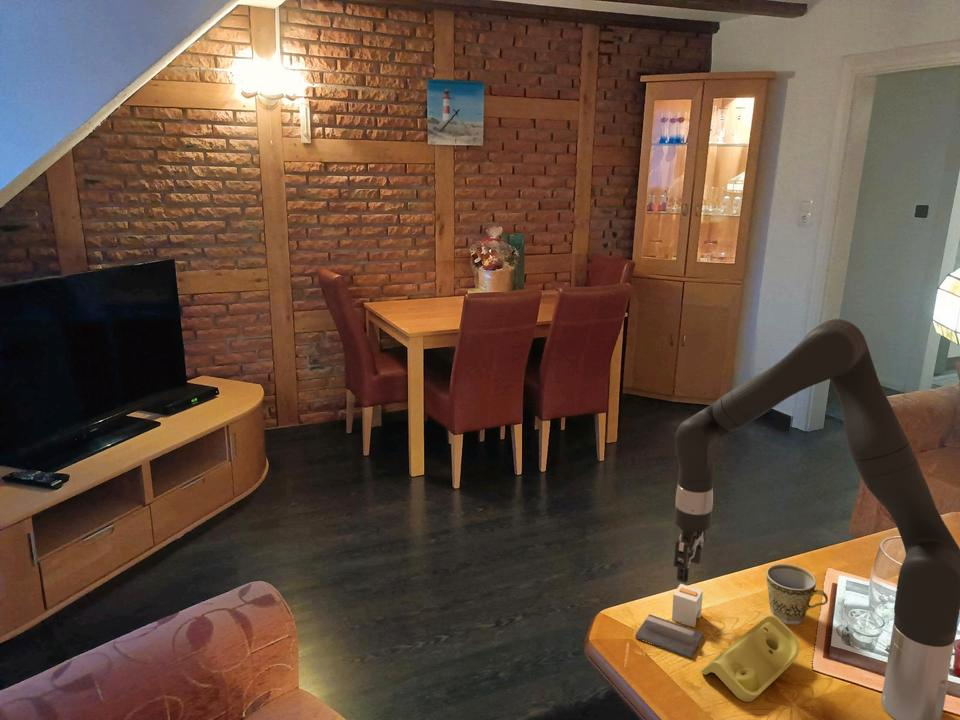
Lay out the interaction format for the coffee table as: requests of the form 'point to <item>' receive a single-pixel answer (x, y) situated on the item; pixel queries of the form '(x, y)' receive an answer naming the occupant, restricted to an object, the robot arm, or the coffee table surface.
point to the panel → (670, 635)
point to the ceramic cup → (791, 592)
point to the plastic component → (756, 658)
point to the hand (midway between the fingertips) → (688, 571)
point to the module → (687, 604)
